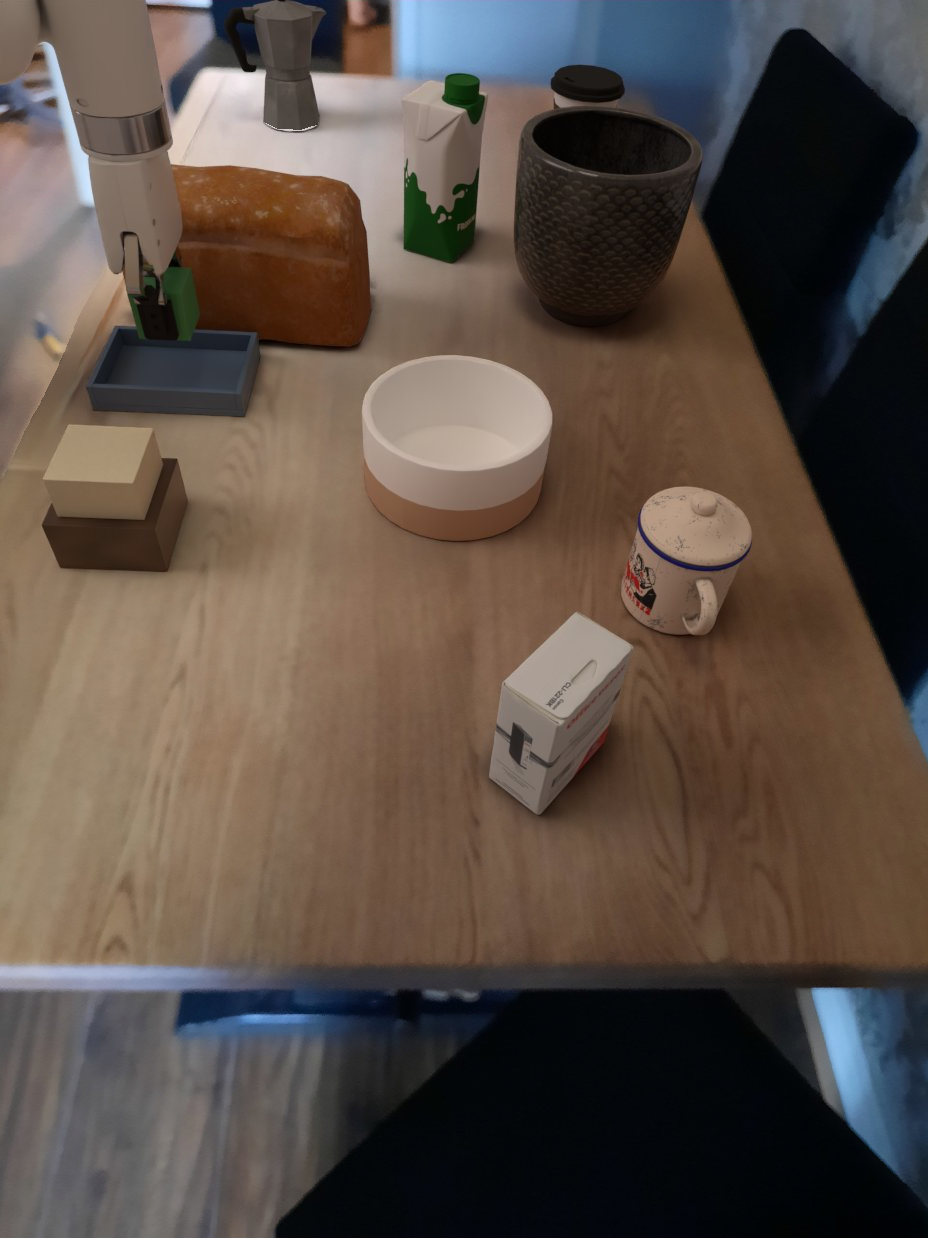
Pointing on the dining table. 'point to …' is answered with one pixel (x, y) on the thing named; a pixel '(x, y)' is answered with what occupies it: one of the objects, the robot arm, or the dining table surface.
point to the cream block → (104, 472)
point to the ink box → (557, 710)
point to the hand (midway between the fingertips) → (168, 320)
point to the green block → (175, 301)
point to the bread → (275, 254)
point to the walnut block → (123, 531)
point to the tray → (176, 373)
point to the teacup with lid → (684, 559)
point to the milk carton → (442, 165)
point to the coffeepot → (281, 58)
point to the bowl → (455, 446)
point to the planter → (600, 208)
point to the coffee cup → (586, 86)
